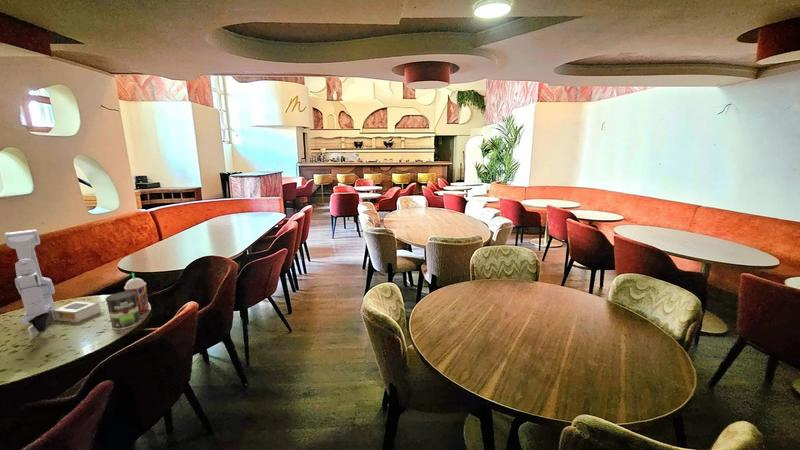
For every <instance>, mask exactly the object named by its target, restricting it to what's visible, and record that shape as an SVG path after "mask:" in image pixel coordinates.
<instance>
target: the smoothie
mask: <svg viewBox="0 0 800 450" xmlns="http://www.w3.org/2000/svg"><path fill="white" fill-rule="evenodd" d="M131 276H132V278H131V279H129V280H127V282H126V283H125V286H123V289H124V291H135V292H136V299H137V304H138V309H139V314H143V313H146V312H148V310H149V309H148V308H149V307H150V305H149V299H148V292H147V291H148V290H147V282H146V281H144V279H142V278H140V277H135V272H131Z"/></svg>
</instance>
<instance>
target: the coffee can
mask: <svg viewBox="0 0 800 450" xmlns="http://www.w3.org/2000/svg"><path fill="white" fill-rule="evenodd" d="M105 301H106V306H107V308H108V309H107V310H108V313H109V318H110V322H111V328H112V330H117V331H119V330H126V329H129V328H133V327H135V326H137V325H138V324H140V323H141V321H142V319H141V315H140V314H141V313H140V314H139V309H138V304H137V299H136V292H135V291H125V290H124V291H119V292H115V293H112V294H110V295H107V296H106V297H105Z"/></svg>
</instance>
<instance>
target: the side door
mask: <svg viewBox="0 0 800 450" xmlns="http://www.w3.org/2000/svg"><path fill="white" fill-rule="evenodd" d="M46 313H49V316H48V318H47V321H46V327H47V326H48V325H50V324H51V322H52V321H55V319H54V315H52V311H51V310H49V311H48V312H46ZM27 331H28V336H29V340H33V339H35V338H36V337H37V336H38V334H40V333H41V332H38V331H37V329H36V328H35V327H34V326H33V325H32V324H30V326H28V327H27Z"/></svg>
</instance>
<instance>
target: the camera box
mask: <svg viewBox="0 0 800 450" xmlns="http://www.w3.org/2000/svg"><path fill="white" fill-rule="evenodd" d="M52 312H53V319H54V321H62V322H63V321H65V322H73V323H80V322H81V321H84V320H86V319H89V318H91V317H93V316H95V315H98V314H100V313H101V312H102V311H101V306H100V303H99V302H95V301H84V300H74V301H71V302H69V303H67V304H64V305H62V306H59V307H55V309H54V310H52Z"/></svg>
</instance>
